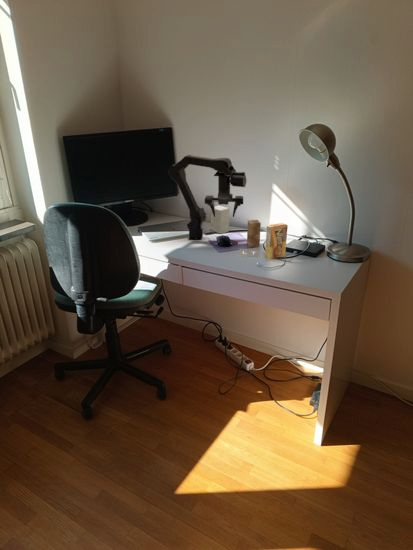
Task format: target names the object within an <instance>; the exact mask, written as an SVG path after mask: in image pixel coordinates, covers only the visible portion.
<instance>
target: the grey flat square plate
mask: <svg viewBox="0 0 413 550" xmlns="http://www.w3.org/2000/svg"><path fill="white" fill-rule="evenodd" d="M260 250H261V249H259V248H238V256H237V257H239V258H245V257H246V258H261V251H260Z"/></svg>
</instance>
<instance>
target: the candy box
mask: <svg viewBox="0 0 413 550" xmlns="http://www.w3.org/2000/svg"><path fill="white" fill-rule="evenodd" d="M288 228H289V226H288V224H285V223H284V222H280V223H275V224H268V225H266V233H265V234H266V235H265V251H264V257H266V258H267V259H268V260H270V259H271V260H272V259H276V258H281V257H285V256H286V249H287V236H288Z"/></svg>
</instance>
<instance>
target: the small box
mask: <svg viewBox="0 0 413 550" xmlns="http://www.w3.org/2000/svg"><path fill="white" fill-rule="evenodd" d="M210 211H211V212H210V230H211V232H215V233H218V234H225V233H228V232H230V207H226V206H222V205H219V204H218V205H215V217H214V215H213V212H212V209H211V208H210Z"/></svg>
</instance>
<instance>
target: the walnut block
mask: <svg viewBox="0 0 413 550" xmlns="http://www.w3.org/2000/svg"><path fill="white" fill-rule="evenodd" d="M261 224H262V222H261V221H259V220H258V219H251V220H248V219H247V230H246V232H247V233H246V235H247V236H246V245H247V246H248V247H249V248H258V247H260V245H261V242H260V240H261Z"/></svg>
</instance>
